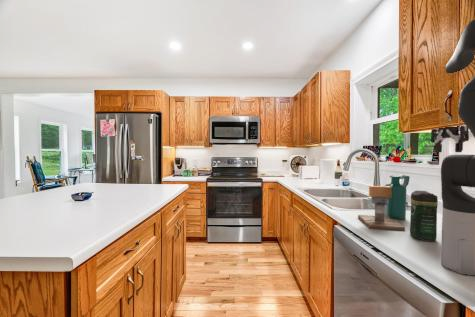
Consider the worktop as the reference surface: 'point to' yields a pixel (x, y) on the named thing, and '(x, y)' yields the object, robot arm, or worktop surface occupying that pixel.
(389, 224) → the stand
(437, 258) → the worktop surface
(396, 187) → the square teal bottle
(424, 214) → the coffee jar
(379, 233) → the worktop surface
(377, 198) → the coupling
